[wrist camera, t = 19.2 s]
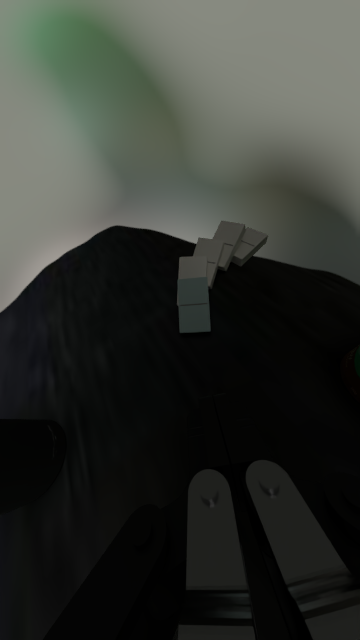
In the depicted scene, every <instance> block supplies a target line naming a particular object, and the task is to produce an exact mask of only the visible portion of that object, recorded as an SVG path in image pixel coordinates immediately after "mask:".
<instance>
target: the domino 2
mask: <svg viewBox="0 0 360 640" xmlns="http://www.w3.org/2000/svg"><path fill="white" fill-rule="evenodd" d="M207 263H208V260H207V256H195V257H180V261H179V278H178V279H188V278H198V277H207ZM177 306H179V303H178V295H177Z"/></svg>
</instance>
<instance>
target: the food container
mask: <svg viewBox="0 0 360 640" xmlns="http://www.w3.org/2000/svg"><path fill="white" fill-rule="evenodd" d="M340 373H341V377H342V380H343V382H344V384H345V386H346V388H347V389H348V391H349V392H350V393H351V395H352V396H353V397H354V398H355V399H356V400H357V401H358V402H359V403H360V345H358V346H357V347H355V348H354V349H352V350H351V351H350V352H348V353H347V354H346V355H345V356H344V357H343V359H342V361H341V364H340Z"/></svg>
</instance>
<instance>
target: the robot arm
mask: <svg viewBox="0 0 360 640" xmlns="http://www.w3.org/2000/svg"><path fill="white" fill-rule="evenodd" d="M212 396H213V400H212ZM212 396H205V397H200V398H198V400H199V407H200V408H199V409H194V410H190V413H189V415H188V417H187V428H188V447H189V467H190V477H189V482H188V485H187V487H186V489H185V491H184V492H183V493H182V495H181V496H180V497H179V498H178V499H176V500H175V501H174V502H172V503H170V504H169V505H167V506H165V507H164V508H162V509H161V510H160V508H158V507H157V506H155V505H151V504H149V505H144V506H142V507H140V508H138V509H137V510H136V511H135V512H134V513H133V514H132V515H131V516H130V517H129V519H128V520H127V521H126V523H125V524H124V526H123V527H122V529H121V530H120V531H119V533H118V534H117V536H116V537H115V538H114V540H113V541H112V543H111V544H110V545H109V547H108V548H107V550H106V551H105V553H104V554H103V555H102V557H101V558H100V560H99V561H98V562H97V564H96V565H95V567H94V568H93V569H92V571H91V572H90V574H89V575H88V576H87V578H86V579H85V581H84V582H83V584H82V585H81V586H80V588H79V589H78V591H77V592H76V593H75V595H74V596H73V598H72V599H71V600H70V602H69V603H68V605H67V606H66V608H65V609H64V610H63V612H62V613H61V615H60V616H59V617H58V619H57V620H56V622H55V623H54V624H53V626H52V627H51V629H50V630H49V632H48V633H47V634H46V636H45V637H44V639H43V640H172V639H173V636H174V634H175V631H176V628H177V626H178V623H179V630H178V640H259V637H258V632H257V626H256V621H255V615H254V610H253V604H252V599H251V593H250V588H249V582H248V577H247V571H246V566H245V560H244V555H243V549H242V544H241V539H240V534H239V530H238V525H237V520H236V515H235V513H237V512H239V507H238V502H237V498H238V501H239V505H240V509H241V512H245V511H247V512H248V515H249V519H250V522H251V526H252V529H253V533H254V535H255V538H256V540H257V543H258V547H259V549H260V552H261V555H262V558H263V561H264V564H265V567H266V570H267V573H268V575H269V578H270V581H271V584H272V587H273V590H274V593H275V596H276V598H277V601H278V604H279V607H280V610H281V613H282V616H283V619H284V622H285V624H286V627H287V630H288V633H289V636H290V639H291V640H360V478H358V477H356V476H353V475H351V474H347V473H342V472H335V473H331V474H329V475H328V476H327V477H326V478H325V480H324V484H321V483H316V482H311V481H305V480H301V479H297V478H295V477H292V476H291V475H289V474H287V473H286V472H285V471H284V470H283V469H282V468H281V467H280V466H278V465H277V464H276V463H275V462H274V460H273V459H272V457H271V455H270V453H269V451H268V449H267V447H266V445H265V443H264V441H263V439H262V437H261V435H260V434H259V432H258V430H257V428H256V426H255V424H254V422H253V420H252V418H251V416H250V414H249V412H248V410H247V408H246V407H245V406H244V405H242V404H241V403H240V402H239V401H236V402H231V403H230V402H229V399H228V397H227V394H226V393H221V394H216V395H212ZM213 401H214V404H213ZM214 406H215V407H214ZM65 448H66V442H65V435H64V432H63V430H62V428H61V427H60V426H59V425H58V424H57V423H56V422H54V421H52V420H26V419H0V516H1V515H3V514H5V513H8V512H10V511H12V510H14V509H17V508H19V507H21V506H23V505H26V504H28V503H30V502H32V501H34V500H35V499H37V498H38V497H40V496H41V495H42V494H43V493H44V492H45V491H46V490H47V489H48V488H49V487H50V485H51V484H52V483H53V481H54V480H55V478H56V476H57V475H58V473H59V471H60V468H61V466H62V463H63V459H64V455H65ZM234 486H235V487H234ZM235 490H236V492H235ZM236 494H237V497H236Z"/></svg>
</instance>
